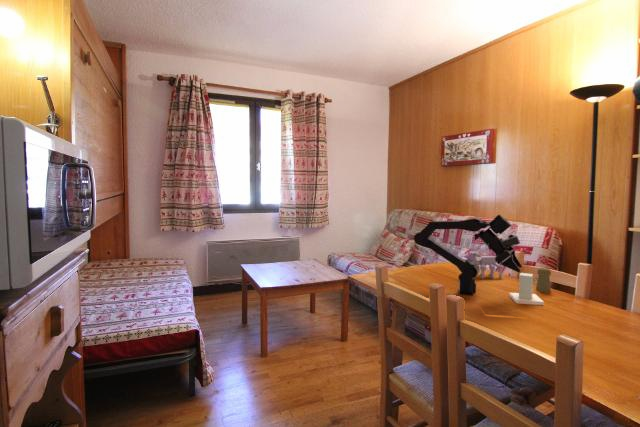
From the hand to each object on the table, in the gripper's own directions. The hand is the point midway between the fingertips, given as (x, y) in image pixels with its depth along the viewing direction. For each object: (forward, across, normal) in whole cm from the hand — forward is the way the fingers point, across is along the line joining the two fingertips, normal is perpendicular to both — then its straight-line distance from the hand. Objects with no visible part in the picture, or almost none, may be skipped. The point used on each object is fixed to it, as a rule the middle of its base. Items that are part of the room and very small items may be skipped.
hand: (520, 269), depth 146 cm
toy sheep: (-4, +34, +24) cm, 42 cm away
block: (+10, 0, +6) cm, 12 cm away
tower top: (+11, 0, +7) cm, 13 cm away
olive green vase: (+16, +19, +4) cm, 25 cm away
